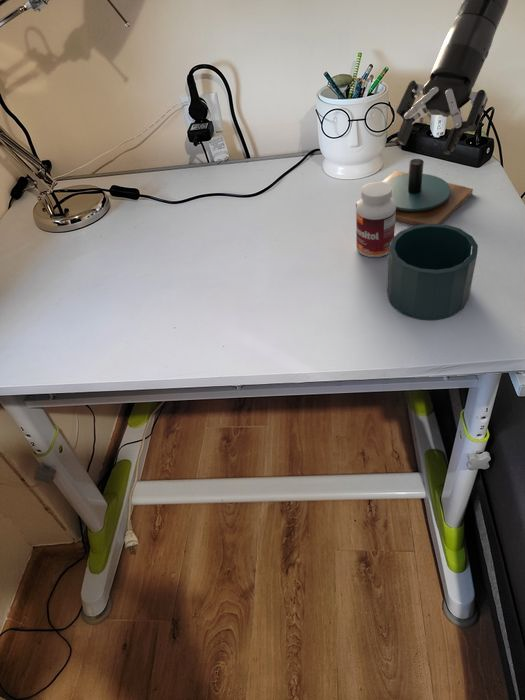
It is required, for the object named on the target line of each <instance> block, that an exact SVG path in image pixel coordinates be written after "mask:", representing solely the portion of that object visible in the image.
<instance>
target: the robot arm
mask: <svg viewBox="0 0 525 700" xmlns="http://www.w3.org/2000/svg"><path fill="white" fill-rule="evenodd" d="M508 3H509V0H462V2H461V4H460V7H459V8H458V12H457V14H456V17H455V19H454V21H453V23H452V25H451V27H450V29H449V30H448V32H447V34H446V37H445V38H444V41H443V44H442V46H441V48H440V51H439V53H438V56H437V58H436V60H435V63H434V65H433V68H432V69H431V73H430V77H429V79H428V81H427V82H426V83H425V84H420V83H417V82H416V80H414V79H413V80H411V81H410V82H409V83H408V85H407V87H406V89H405V92H404V94H403V95H402V98H401V100H400V102H399V104H398V107H397V108H396V114H397V116H398V117H399V118H400V119H401V120H402V122H401V125H400V128H399V130H398V132H397V135H396V138H397V142H398V143H399V144H400V145H402V146H406V145H407V143H408V140H409V138H410V135H411V133H412V131H413V128H414V124H415V123H416V122H418V121H419V120H420V119H423V118H425V117H426V116H428V115H429V114H430V115H433V116H439V115H440V116H442V117H445V118H449V117H451V119H452V122H453V127H452V128H451V129H450V130H449V133H448V135H447V138H446V140H445V142H444V144H443V147H442V152H443V154H444V155H450V154H451V153H452V152H455V150H456V149H457V147H458V144H459V142H460V139H461V138H462V135H463V134H464V133H467V132H470V133H475V132H476V131H477V129H478V126H479V124H480V121H481V119H482V116H483V114H484V110H485V108H486V106H487V103H488V100H489V99H488V95H487V93H486V91H485V89H480V90H478V91H472V90H473V88H474V86H475V84H476V81H477V80H478V77H479V75H480V73H481V71H482V68H483V66H484V63H485V62H486V60H487V58H488V57H489V54H490V49H491V47H492V44H493V41H494V37H495V35H496V32H497V29H498V27H499V25H500V23H501V20H502V19H503V16H504V14H505V11H506V10H507V6H508V5H509V4H508ZM421 94H422V97H421V98H420V95H421ZM419 98H420V99H419ZM416 99H419V100H417V101H416ZM415 101H416V102H415ZM469 102H470V104H471V109H470V111H469V115H468V117H467V119H466V120H465V121H464V119H463V115H462V111H461V108H463V107H464V106H465V105H467V104H468V103H469Z"/></svg>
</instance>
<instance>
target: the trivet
mask: <svg viewBox="0 0 525 700" xmlns="http://www.w3.org/2000/svg"><path fill="white" fill-rule="evenodd" d="M405 174H409V172H405V171H401V170H397V169H395V170H394V171H392V172H391V174H390V175H388V176H387V177H386V178H385V179H384V180H382V181H381V182H386V181H387V180H389V179H391V178H393V177H396V176H400V175H405ZM447 183H448V185H449V186H450V189H451V191H450V196H449V198H448V199H447V201H446V202H444V203H443V204H441V205H440V206H438V207H435V208H432V209H429V210H423V211H403V210H398V209H396V215H395V221H399V222H403V223H406V224H409V225H412V226H415V225H422V224H429V223H431V224H444V222H445V221H446V220H448V218H449V217H450V216H451V215H453V214H454V213H455V212H456V211H457V209H458V208H460V207H461V206H462V204H464V203H465V202H466V201H467V199H469V198H470V197H471V196H472V195H473V191H474V188H470V187H466V186H463V185H458V184H454V183H450V182H447ZM358 202H359V200H357V202H355V208H356V207H357V203H358Z"/></svg>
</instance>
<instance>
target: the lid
mask: <svg viewBox="0 0 525 700" xmlns="http://www.w3.org/2000/svg"><path fill="white" fill-rule="evenodd" d="M424 163H425V162H424V160H423V159H421V158H412V159H410V161H409V163H408V173H409V174H405V175H400V176H396V177H393V178H391V179H389V180H387V181H386V183H388V184H390V185H391V186H392V198H393V199H394V201H395V203H396V209H398V210H403V211H423V210H429V209H432V208H435V207H438V206H440V205H441V204H443V203H444V202H446V201H447V199H448V198H449V196H450V191H451V189H450V186H449V185H448V183H449V182H447V181H446V180H444V179H443V178H440V177H438V176H436V175H432V174H428V173H424Z"/></svg>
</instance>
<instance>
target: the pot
mask: <svg viewBox="0 0 525 700" xmlns="http://www.w3.org/2000/svg"><path fill="white" fill-rule="evenodd" d="M478 250H479V244H478V243H477V241H476V240H475V238H474V237H473V235H471V234H469V233H468V232H466V231H465V230H463V229H461V228H460V227H456V226H453V225H449V224H445V223H442V224H431V223H429V224H422V225H412V226H410V227H406V228H405V229H402V230H400V231H398V233H396V235H394V237H393V238H392V240H391V243H390V247H389V253H388V257H387V258H388V260H387V261H388V262H387V284H386V294H387V300H388V301H389V303H390V305H391V306H392V307H393V309H394V310H396V311H397V312H399V313H400V314H402V315H404V316H406V317H409V318H412V319H416V320H421V321H422V320H423V321H437V320H443V319H448V318H451V317H452V316H454V315H457V314H459V312H461V311H462V310H463V309H464V308H465V307H466V305H467V303H468V301H469V298H470V293H471V289H472V283H473V278H474V272H475V268H476V263H477V257H478Z"/></svg>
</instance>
